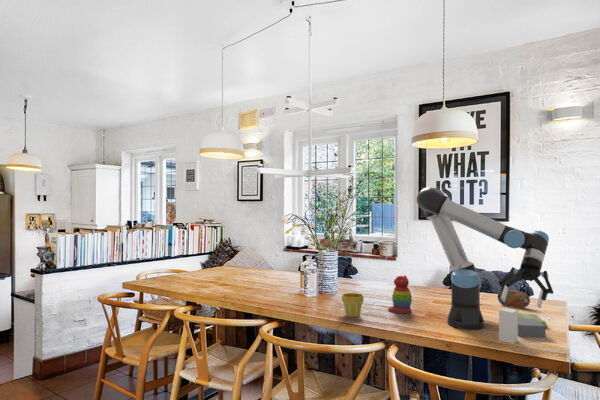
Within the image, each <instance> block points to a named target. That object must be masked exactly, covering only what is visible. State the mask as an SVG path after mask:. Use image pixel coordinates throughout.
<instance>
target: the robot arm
mask: <svg viewBox="0 0 600 400" xmlns="http://www.w3.org/2000/svg"><path fill="white" fill-rule="evenodd" d="M416 203H417V205H418V207H419V208H420V209H421V210H422V211H423V212H424V215H425V217H426V219H427V220H429V221H431V223H432V226H433V228H434V230H435V233H436V235H437V237H438V240H439V243H440V244H441V247H442V249H443V252H444V255H445V256H446V258H447V261H448V263H449V266H450V268H449V270H448V271H449V274H450V281H451V282H450V283H451V288H450V289H451V294H450V295H451V296H450V297H451V298H450V299H451V304H450V305H451V306H450V309H449V312H448V315H447V317H446V318H447V324H448V325H449V326H451V327H454V328H459V329H465V330H481V329H483V328H485V320H484V317H483V314H482V311H481V305H480V300H481V299H480V293H481V292H480V291H481V287H482V284H483V283H482V277H481V275H480V274H479V272H478V270H477V269H476V266H475V265H474V262H472V261H470V260H469V259H468V257H467V254H466V252H465V249H464V247H463V244H462V243H461V242H462V241H461V240H460V238H459V236H458V233H457V230H456V229H455V226H454V225H453V222H452V221H454V222H456V223H458V224H461V225H462V226H463V225H464V226H466V227H467V228H469V229H471V230H474V231H476V232H478V233H480V234H483V235H485V236H487V237H489V238H491V239H493V240H495V241H497V242H500V243H501V244H504V245H505V246H507V247H508V248H511V249H518V248H520V249H523V250H525V251H524V254H523V256H522V260H521V264H520V268H518V269H517V268H515V267H511V268H510V270H509V271H508V272H507V273H506V274H505V275H504V276H503V277H502V278H501V279H500V280H498V284H499V287H501V289H500V291H501V293H502V296H501V299H502V301H503V302H505V299H506V296H507V293H508V290H509V287H511V286H512V285H514V284H516V283H517V282H519V281H528V282H529V281H530V282H533V281H534V282H535V283H536V284H537V285H538V287H539V288H540V289H541V290H540V291H539V295H538V299H537V303H536V304H537V307H538V309H542V305H543V301H546V300H547V297H548V295H549V294H554V290H553V288H552V285H551V283H550V279H549V273H548V271H547V270H544V271H541V270H542V267H543V263H544V260H545V257H546V256H545V255H546V252H547V250H548V245H549V241H550V237H549V235H548V234H547V233H546V232H545V231H542V230H533V231H531V232H526V231H523V230H520V229H518V228H515V227H512V226H508V225H506V224H504V223H501V222H500V221H497V220H494V219H493V218H491V217H488V216H486V215H484V214H481V213H479V212H477V211H475V210H472V209H470V208H468V207H466V206H464V205H462V204H459V203H457V202H455V201H453V200H451V199H450V197H449V196H447V195H445V193H444V192H443V191H442V190H440V189H439V188H435V187H430V186H429V187H424V188H422V189H421V190H420V191H419V192H418V194H417V196H416ZM540 276H541V277H542V278H543V279H544V281H545V284H546V286H547V288H546V286H545V285H544V284H543V282H541V280H540V279H539V277H540Z"/></svg>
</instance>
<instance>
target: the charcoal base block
mask: <svg viewBox="0 0 600 400" xmlns="http://www.w3.org/2000/svg"><path fill="white" fill-rule="evenodd" d="M546 328H547V327H545V325H543V324H541V323H540V322H538V321H537V320H535V319H520V318H518V338H538V339H539V338H540V339H541V338H542V339H546V332H547V331H546Z"/></svg>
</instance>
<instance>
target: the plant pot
mask: <svg viewBox="0 0 600 400" xmlns="http://www.w3.org/2000/svg"><path fill="white" fill-rule="evenodd" d="M341 302H342V303H343V307H344V312H345V315H346V316H347V317H349V316H350V318H357V317H360V315H361V311H362V305H363V303H364V294H362V293H357V292H348V293H343V294H342V295H341Z"/></svg>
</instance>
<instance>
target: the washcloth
mask: <svg viewBox="0 0 600 400" xmlns="http://www.w3.org/2000/svg"><path fill="white" fill-rule="evenodd" d="M518 318H520V319H535V320H537V321H538V322H540V323H541V324H543V325H545V327H546V328H547V327H548V324H547V322H546V321H545V320H544V319H542V318H541V317H539V315H537V314H532V313H527V312H518Z"/></svg>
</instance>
